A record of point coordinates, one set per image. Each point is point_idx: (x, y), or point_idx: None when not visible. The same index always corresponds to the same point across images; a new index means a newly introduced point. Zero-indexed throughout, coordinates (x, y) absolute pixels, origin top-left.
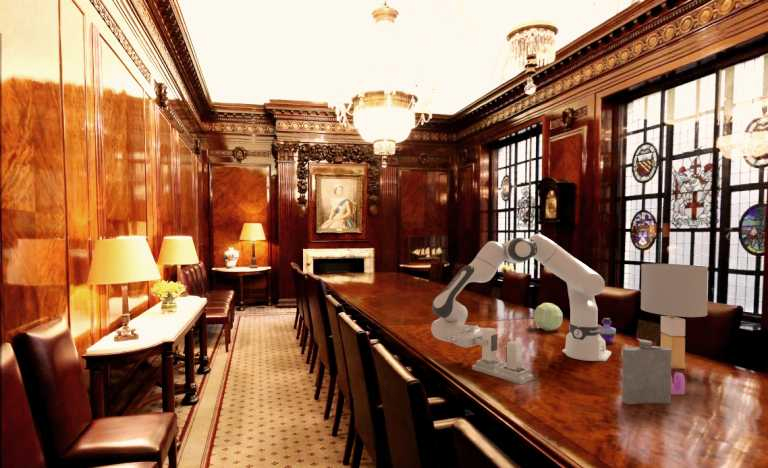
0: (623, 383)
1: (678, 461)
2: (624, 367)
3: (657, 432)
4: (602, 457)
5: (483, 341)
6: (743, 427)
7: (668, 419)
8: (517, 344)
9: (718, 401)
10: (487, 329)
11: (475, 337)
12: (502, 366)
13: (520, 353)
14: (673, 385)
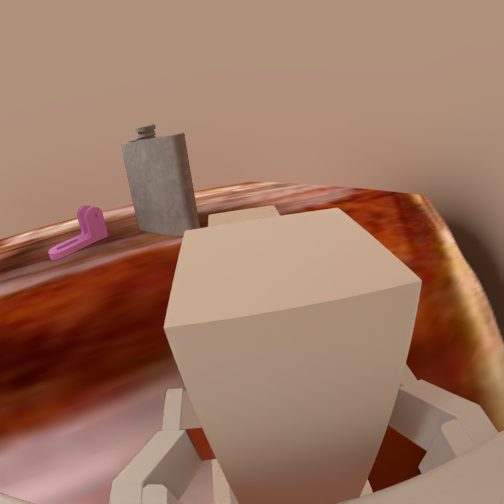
0: (192, 198)
1: (318, 185)
2: (188, 167)
3: (271, 200)
4: (386, 193)
5: (407, 377)
6: None
7: (216, 208)
8: (260, 209)
9: (104, 220)
10: (340, 241)
11: (495, 436)
12: None
13: None
14: (78, 236)
